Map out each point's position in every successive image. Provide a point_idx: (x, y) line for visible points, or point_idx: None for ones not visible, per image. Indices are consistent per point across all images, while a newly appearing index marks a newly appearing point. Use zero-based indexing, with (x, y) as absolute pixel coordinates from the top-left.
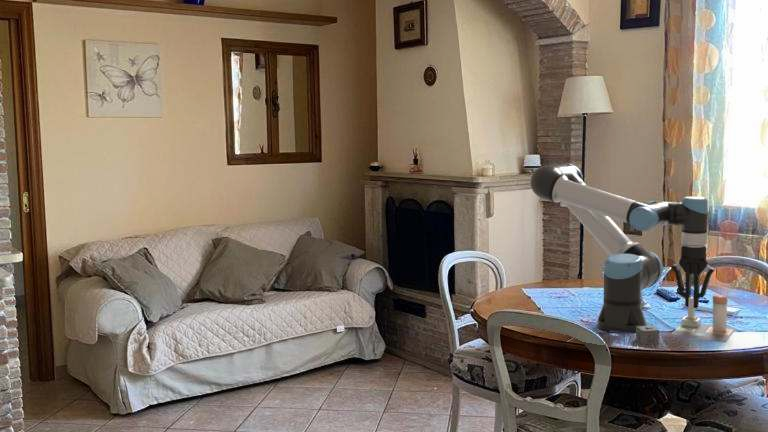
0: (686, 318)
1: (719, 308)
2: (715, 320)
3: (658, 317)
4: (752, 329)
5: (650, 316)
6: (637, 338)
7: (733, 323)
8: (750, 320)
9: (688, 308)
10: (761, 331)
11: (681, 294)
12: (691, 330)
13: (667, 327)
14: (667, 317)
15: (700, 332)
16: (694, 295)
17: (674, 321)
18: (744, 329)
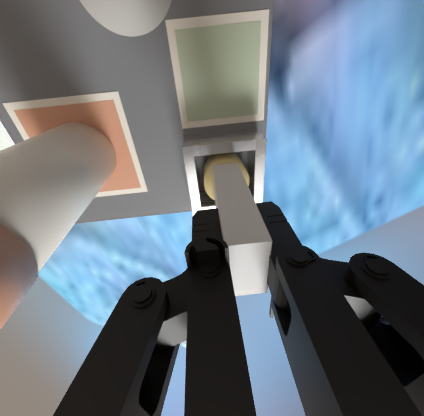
0: (246, 171)
1: None
2: (53, 140)
3: (352, 222)
4: (50, 259)
5: (380, 218)
6: None
7: (130, 280)
8: None
9: (248, 188)
10: None
11: (362, 257)
12: (188, 68)
13: (315, 105)
14: (322, 236)
15: (134, 60)
16: (221, 278)
17: (295, 208)
18: (66, 247)
